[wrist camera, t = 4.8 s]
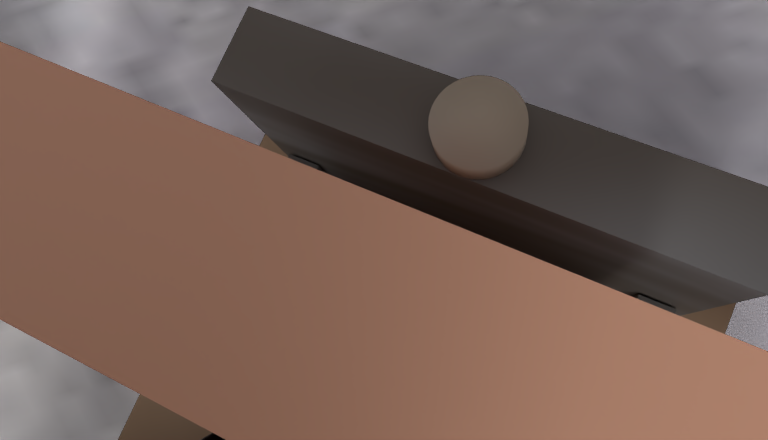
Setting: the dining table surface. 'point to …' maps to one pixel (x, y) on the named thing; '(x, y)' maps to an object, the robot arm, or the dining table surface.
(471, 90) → the switch base
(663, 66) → the dining table surface
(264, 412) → the reddish brown rectangular bar
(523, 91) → the dining table surface
